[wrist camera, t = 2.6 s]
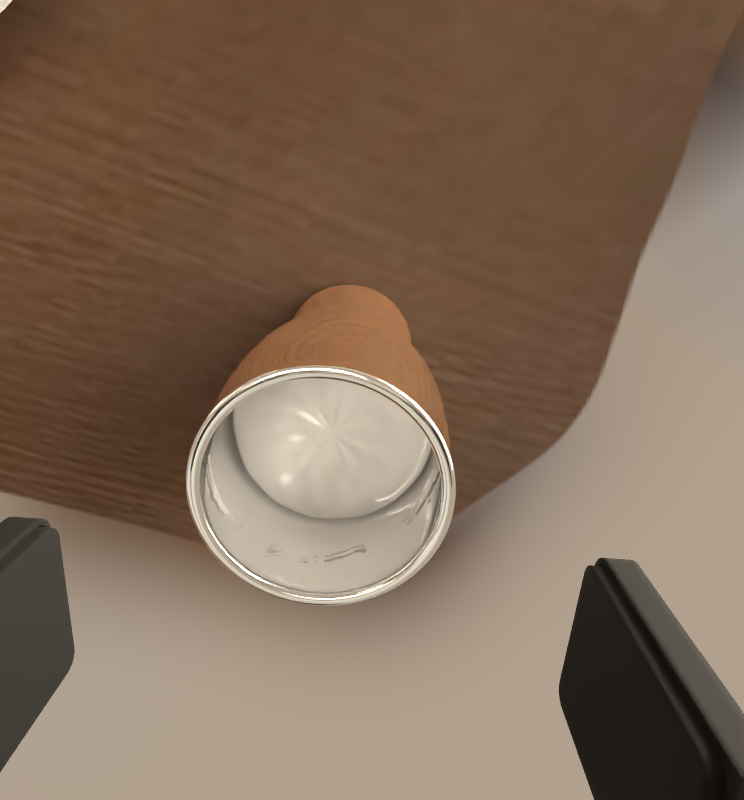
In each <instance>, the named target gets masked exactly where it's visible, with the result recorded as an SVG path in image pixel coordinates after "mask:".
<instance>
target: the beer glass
mask: <svg viewBox="0 0 744 800" xmlns="http://www.w3.org/2000/svg"><path fill="white" fill-rule="evenodd" d="M185 482H186V496H187V502H188V506H189V510H190V514H191V517H192V519H193V522H194V524H195V527H196V529H197V531H198V533H199V535H200V537H201V538H202V540H203V542H204V543H205V545H206V546H207V547H208V549H209V550H210V552H211V553H212V554H213V555H214V556H215V558H216V559H217V560H218V561H219V562H220V563H221V564H222V565H223V566H224V567H225V568H226V569H227V570H229V571H230V572H231V573H232V574H233V575H235V576H236V577H237V578H239V579H240V580H242V581H243V582H245V583H246V584H248V585H250V586H251V587H253V588H255V589H257V590H259V591H261V592H263V593H265V594H268V595H270V596H273V597H276V598H279V599H282V600H286V601H289V602H294V603H299V604H306V605H317V606H334V605H345V604H351V603H356V602H360V601H365V600H367V599H371V598H374V597H377V596H379V595H382V594H384V593H386V592H388V591H390V590H392V589H394V588H396V587H398V586H399V585H401V584H403V583H404V582H406V581H407V580H408V579H410V578H411V577H412V576H413V575H415V574H416V573H417V572H418V571H419V570H420V569H421V568H422V567H423V566H424V565H425V564H426V563H427V562H428V561H429V560H430V559H431V557H432V556H433V555H434V554H435V552H436V551H437V549H438V547H439V546H440V544H441V543H442V541H443V539H444V537H445V535H446V533H447V530H448V528H449V525H450V522H451V519H452V516H453V511H454V505H455V497H456V481H455V472H454V467H453V462H452V459H451V448H450V439H449V431H448V425H447V420H446V415H445V411H444V407H443V403H442V399H441V396H440V393H439V390H438V388H437V385H436V383H435V381H434V378H433V376H432V374H431V372H430V370H429V368H428V366H427V364H426V363H425V361H424V359H423V358H422V357H421V355H420V354H419V353H418V351H417V350H416V349H415V348H414V347H413V346H412V345H411V336H410V331H409V328H408V325H407V322H406V320H405V318H404V316H403V315H402V313H401V312H400V310H399V309H398V308H397V306H396V305H395V304H394V303H393V302H392V301H391V300H390V299H388V298H387V297H386V296H384V295H383V294H381V293H379V292H378V291H375V290H373V289H371V288H368V287H364V286H360V285H351V284H346V285H337V286H332V287H329V288H326V289H324V290H321V291H319V292H318V293H316V294H314V295H313V296H311V297H310V298H309V299H308V300H307V301H305V302H304V303H303V305H302V306H301V307H300V308H299V310H298V311H297V313H296V314H295V316H294V318H293V320H292V321H290V322H288V323H286V324H284V325H282V326H280V327H279V328H277V329H275V330H274V331H272V332H271V333H270V334H268V335H267V336H266V337H265V338H264V339H263V340H261V341H260V342H259V343H258V344H257V345H256V346H255V347H254V348H253V349H252V350H251V351H250V352H249V353H248V354H247V355H246V356H245V357H244V359H243V360H242V361H241V362H240V364H239V365H238V367H237V368H236V369H235V371H234V372H233V374H232V375H231V376H230V378H229V379H228V381H227V382H226V384H225V386H224V387H223V389H222V391H221V393H220V394H219V396H218V398H217V400H216V402H215V403H214V405H213V407H212V409H211V411H210V413H209V414H208V416H207V417H206V418H205V420H204V421H203V423H202V424H201V426H200V428H199V430H198V432H197V433H196V436H195V438H194V440H193V443H192V446H191V449H190V452H189V456H188V461H187V467H186V480H185Z"/></svg>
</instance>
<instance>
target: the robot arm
mask: <svg viewBox="0 0 744 800" xmlns="http://www.w3.org/2000/svg"><path fill="white" fill-rule="evenodd" d="M73 658H74V642H73V635H72V627H71V620H70V612H69V606H68V598H67V591H66V583H65V575H64V568H63V560H62V553H61V546H60V538H59V534H58V531H57V530H56V529H54V528H51V527H50V524H49V523H48V521H47V520H44V519H37V518H23V517H22V518H21V517H9V518H7V519H5V520H4V521H2V522H1V523H0V772H1V770H2V769H3V767H4V766H5V764H6V763H7V761H8V760H9V758H10V757H11V755H12V754H13V753H14V751H15V750H16V748H17V747H18V745H19V744H20V742H21V741H22V739H23V738H24V736H25V735H26V733H27V732H28V730H29V729H30V727H31V726H32V725H33V723H34V722H35V720H36V718H37V717H38V716H39V714H40V713H41V711H42V710H43V708H44V707H45V705H46V704H47V702H48V701H49V699H50V698H51V697H52V695H53V694H54V692H55V691H56V689H57V688H58V686H59V685H60V683H61V682H62V680H63V678H64V677H65V676H66V674H67V673H68V671H69V669H70V667H71V665H72V662H73ZM559 696H560V703H561V707H562V710H563V712H564V715H565V718H566V721H567V723H568V726H569V729H570V732H571V735H572V738H573V741H574V744H575V746H576V749H577V752H578V755H579V758H580V761H581V763H582V766H583V769H584V772H585V774H586V778H587V780H588V783H589V786H590V789H591V792H592V794H593V797H594V800H744V713H743V711H742V710H741V709H740V707H739V706H738V705H737V703H736V702H735V700H734V699H733V697H732V696H731V695H730V693H729V692H728V690H727V689H726V687H725V686H724V685H723V683H722V682H721V680H720V679H719V678H718V676H717V675H716V674H715V672H714V671H713V669H712V668H711V666H710V665H709V664H708V662H707V661H706V659H705V658H704V656H703V655H702V654H701V652H700V651H699V650H698V649H697V647H696V646H695V644H694V643H693V641H692V640H691V639H690V637H689V636H688V635H687V633H686V632H685V630H684V629H683V627H682V626H681V624H680V623H679V622H678V620H677V619H676V617H675V616H674V615H673V613H672V612H671V610H670V609H669V608H668V606H667V605H666V603H665V602H664V601H663V599H662V598H661V596H660V595H659V593H658V592H657V591H656V589H655V588H654V586H653V585H652V584H651V582H650V581H649V579H648V578H647V576H646V575H645V574H644V572H643V571H642V569H641V568H640V567H639V565H638V564H637V563H636V562H635V561H633V560H625V559H609V558H600V559H598V560H597V562H596V564H595V566H588V567H587V568H586V570H585V573H584V577H583V581H582V586H581V590H580V595H579V599H578V603H577V608H576V612H575V617H574V621H573V626H572V630H571V635H570V639H569V643H568V647H567V652H566V656H565V661H564V665H563V670H562V674H561V678H560V684H559Z"/></svg>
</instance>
